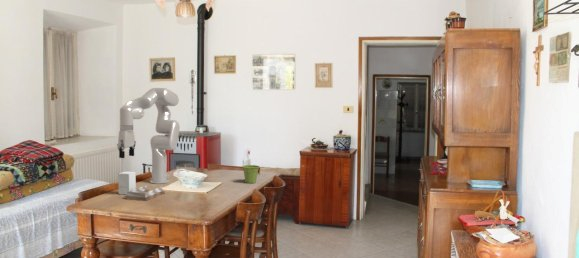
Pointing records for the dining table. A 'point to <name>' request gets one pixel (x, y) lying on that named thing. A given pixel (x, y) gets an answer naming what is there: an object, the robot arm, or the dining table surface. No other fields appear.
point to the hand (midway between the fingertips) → (126, 156)
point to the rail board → (144, 193)
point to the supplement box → (126, 182)
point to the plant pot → (250, 173)
